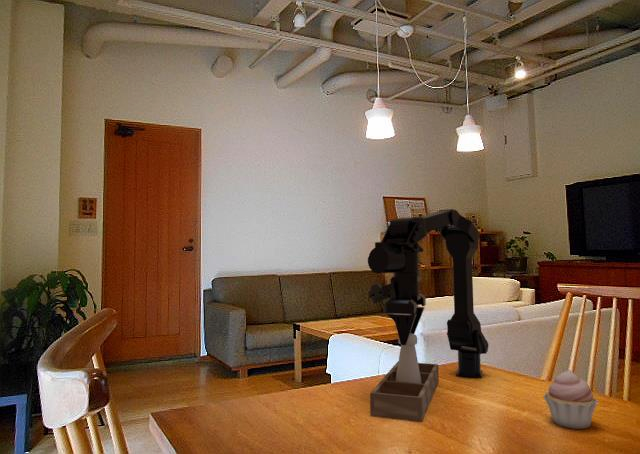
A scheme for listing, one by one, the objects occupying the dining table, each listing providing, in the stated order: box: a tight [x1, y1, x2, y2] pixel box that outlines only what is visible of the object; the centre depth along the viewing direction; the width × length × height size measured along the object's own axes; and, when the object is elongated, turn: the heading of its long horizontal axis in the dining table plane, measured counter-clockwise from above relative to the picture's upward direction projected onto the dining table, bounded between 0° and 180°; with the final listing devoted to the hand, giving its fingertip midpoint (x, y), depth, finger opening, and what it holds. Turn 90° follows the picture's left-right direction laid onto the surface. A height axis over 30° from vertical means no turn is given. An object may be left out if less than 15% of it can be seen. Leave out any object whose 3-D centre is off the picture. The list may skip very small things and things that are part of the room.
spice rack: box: [369, 360, 440, 423], centre depth 107 cm, size 29×10×4 cm, turn 160°
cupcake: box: [543, 369, 599, 430], centre depth 90 cm, size 9×9×10 cm
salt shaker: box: [396, 333, 421, 383], centre depth 107 cm, size 6×6×13 cm
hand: (407, 341), depth 107 cm, fingers open, 9 cm apart
